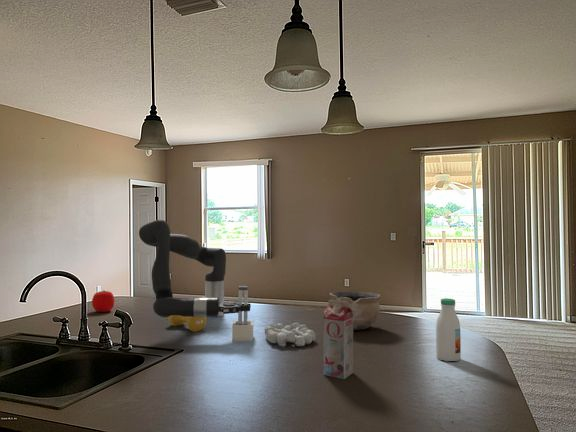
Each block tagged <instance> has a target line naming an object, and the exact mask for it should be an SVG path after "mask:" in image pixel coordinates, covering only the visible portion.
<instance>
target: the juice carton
mask: <svg viewBox="0 0 576 432" xmlns="http://www.w3.org/2000/svg"><path fill="white" fill-rule="evenodd" d="M327 301H328V306H327V307H326V308H325V309H324V311H323V376H327V377H332V378H336V379H341V380H345V379H347V378H348V377H349V376H351V375H352V374H354V330H353V311H352V310H351V309H350V308H349V302H344V301H335V300H331V299H328V300H327Z"/></svg>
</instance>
